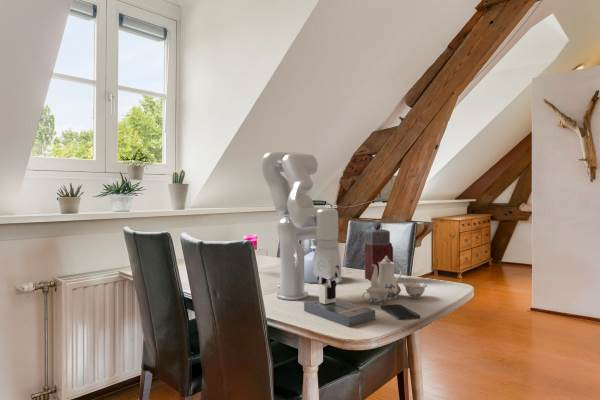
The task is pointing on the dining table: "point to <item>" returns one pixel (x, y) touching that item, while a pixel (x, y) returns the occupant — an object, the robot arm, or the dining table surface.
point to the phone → (400, 312)
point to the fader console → (340, 312)
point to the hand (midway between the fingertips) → (327, 297)
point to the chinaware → (390, 283)
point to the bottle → (310, 266)
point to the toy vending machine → (376, 248)
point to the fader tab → (325, 294)
